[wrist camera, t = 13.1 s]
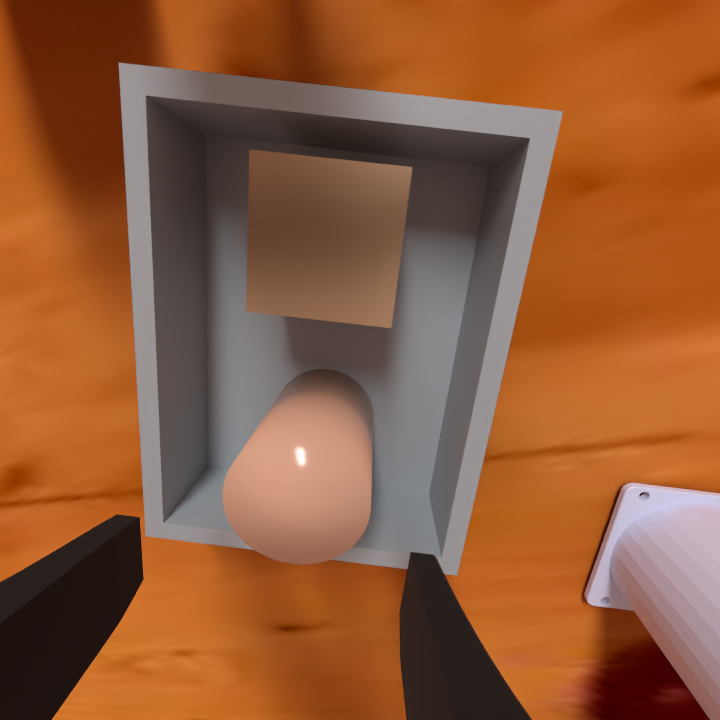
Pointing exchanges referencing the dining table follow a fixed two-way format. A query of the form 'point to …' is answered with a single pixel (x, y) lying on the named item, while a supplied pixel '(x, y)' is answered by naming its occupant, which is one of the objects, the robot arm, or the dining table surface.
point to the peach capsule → (305, 472)
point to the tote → (318, 337)
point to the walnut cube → (325, 237)
